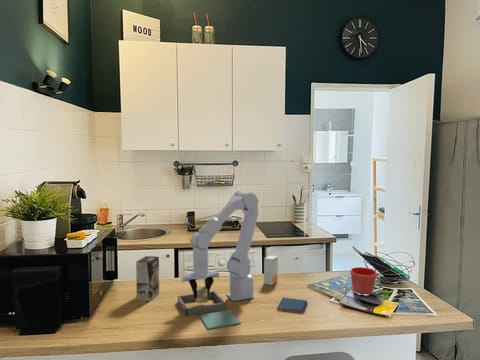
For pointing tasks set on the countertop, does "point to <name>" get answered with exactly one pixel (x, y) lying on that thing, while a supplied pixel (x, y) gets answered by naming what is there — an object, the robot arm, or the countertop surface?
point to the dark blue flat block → (292, 305)
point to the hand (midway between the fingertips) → (201, 297)
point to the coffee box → (147, 278)
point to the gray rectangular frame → (201, 309)
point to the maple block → (201, 294)
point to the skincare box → (270, 269)
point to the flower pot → (363, 280)
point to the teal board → (219, 319)
